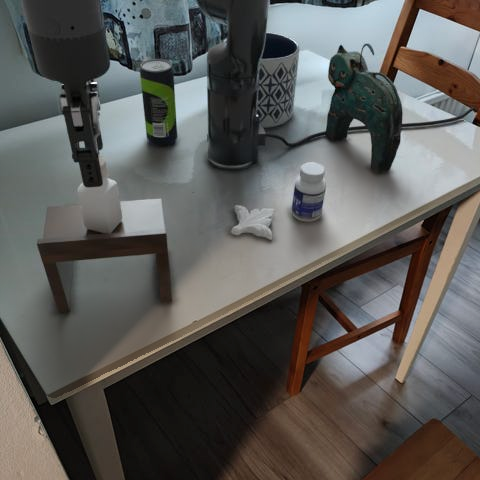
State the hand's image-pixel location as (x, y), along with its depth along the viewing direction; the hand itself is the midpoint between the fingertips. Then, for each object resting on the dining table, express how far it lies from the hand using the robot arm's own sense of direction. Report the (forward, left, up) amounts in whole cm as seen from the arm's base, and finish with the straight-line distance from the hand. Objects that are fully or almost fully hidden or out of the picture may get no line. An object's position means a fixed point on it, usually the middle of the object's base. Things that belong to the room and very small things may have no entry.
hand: (94, 166), depth 64 cm
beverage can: (-10, -42, -19) cm, 47 cm away
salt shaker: (0, 0, -9) cm, 9 cm away
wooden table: (0, 0, -19) cm, 19 cm away
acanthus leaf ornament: (-23, -11, -19) cm, 32 cm away
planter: (-32, -52, -19) cm, 64 cm away
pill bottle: (-33, -13, -19) cm, 40 cm away
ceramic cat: (-49, -33, -19) cm, 62 cm away
